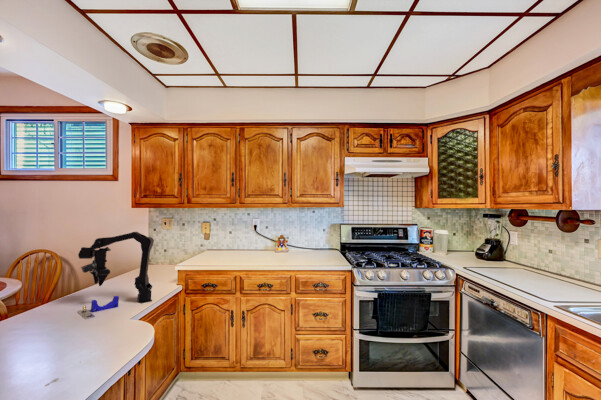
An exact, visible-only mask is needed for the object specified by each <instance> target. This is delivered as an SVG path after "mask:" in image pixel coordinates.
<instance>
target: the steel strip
mask: <svg viewBox="0 0 601 400" xmlns="http://www.w3.org/2000/svg"><path fill="white" fill-rule="evenodd" d="M76 312H77V313H78V314H79V315H80V316H81V317H82V318H83V319H84V320H87V319H91V318H95V317H96V315H95V314H94V313H93V312H91V311H90V310H89V309H87V306H86V305H83V306H82V309H81V310H77V311H76Z"/></svg>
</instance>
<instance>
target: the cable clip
mask: <svg viewBox="0 0 601 400" xmlns="http://www.w3.org/2000/svg"><path fill="white" fill-rule="evenodd" d="M119 297H120V296H118V295H115V296H113V298H112V300H111V301H109V302H108V303H107V304H105V305H102V306H101V305H99V304H98V301H97V300H96V299H93V300H91V306H90V312H91V313H97V312H102V311H105V310H109V309H110V310H111V309H116V308H119Z"/></svg>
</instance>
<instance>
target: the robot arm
mask: <svg viewBox="0 0 601 400" xmlns="http://www.w3.org/2000/svg"><path fill="white" fill-rule="evenodd" d="M130 239H134V240H135V241H136V242H138V243H139V244H140V248H141V257H140V266H139V267H140V268H139V272H138V274H139V275H138V276H136V277H135V278H134V286H135V287H134V288H135V289H137V291H138V294H137V298H136V301H137V302H138V303H140V304H145V303H148V302H152V301H153V300H152V288H153V284H151V283H150V282H149V281H150V280H149V279H150V278H149V275H148V270H149V265H150V255H151V251H152V248H153V246H154V243H155V240H154V238H153V237H152V236H147V235H144V234H143V233H140V232H138V231H133V232H129V233H125V234H119V235H116V236H109V237H108V236H107V237H100V238H99V237H98V238H96V239H95V240H94V241H93V243H92V245H91V246H90V247H86V246H82V247H80V250H79V251H78V258H79V259H80V260H84V259H85V260H86V259H87V260H88V259H90V260H91V259H93V260H92V262H91V263H87V264H86V265H83V266H80V269H81V271H82V273H84V274H86V273H88V272H89V273H90V275H92V277H93V282H94V284H98V287H101V286H103V284H104V282H105V280H106V278H107V277H108V276H109V275H110V274H111V270H110V269H109V268H107V266H106V263H107V262H108V260H107V252H110V251H111V248H109V247H108V246H111V245H112V244H114V243H119V242H122V241H123V242H124V241H127V240H130Z"/></svg>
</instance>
